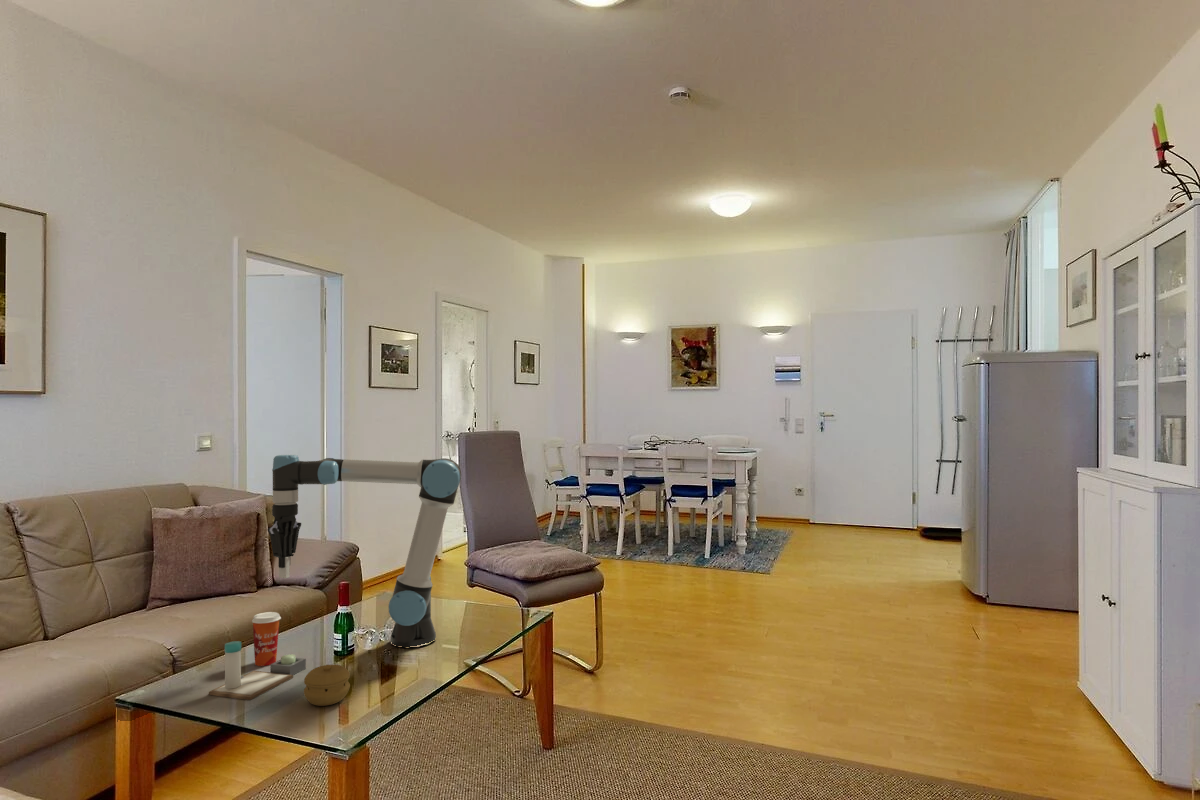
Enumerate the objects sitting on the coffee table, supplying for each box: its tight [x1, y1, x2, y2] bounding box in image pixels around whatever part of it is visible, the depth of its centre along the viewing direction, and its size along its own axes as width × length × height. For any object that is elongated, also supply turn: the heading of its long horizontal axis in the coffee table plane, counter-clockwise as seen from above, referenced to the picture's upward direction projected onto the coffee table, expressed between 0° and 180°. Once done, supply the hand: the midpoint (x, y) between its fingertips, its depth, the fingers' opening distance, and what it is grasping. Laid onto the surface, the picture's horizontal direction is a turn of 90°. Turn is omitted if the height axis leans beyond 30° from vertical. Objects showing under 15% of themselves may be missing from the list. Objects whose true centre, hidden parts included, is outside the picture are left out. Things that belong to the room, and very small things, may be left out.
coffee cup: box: [251, 611, 282, 667], centre depth 220 cm, size 8×8×15 cm
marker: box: [224, 640, 242, 689], centre depth 198 cm, size 4×4×12 cm
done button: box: [280, 653, 297, 665], centre depth 212 cm, size 4×4×4 cm
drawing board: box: [208, 670, 294, 701], centre depth 201 cm, size 14×17×2 cm
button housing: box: [269, 657, 307, 676], centre depth 212 cm, size 7×7×3 cm
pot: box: [303, 664, 351, 707], centre depth 190 cm, size 12×12×10 cm
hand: (284, 577), depth 222 cm, fingers closed
